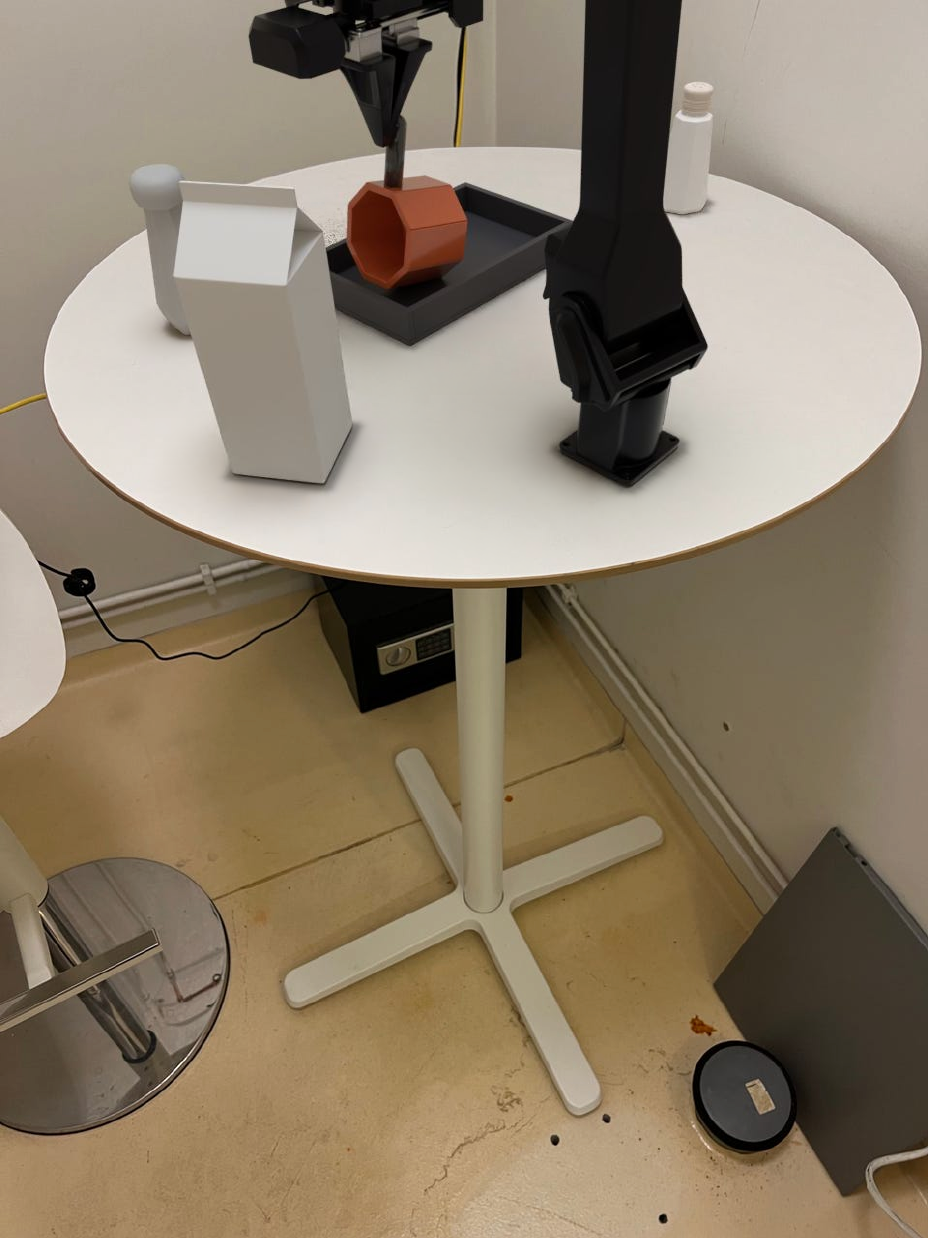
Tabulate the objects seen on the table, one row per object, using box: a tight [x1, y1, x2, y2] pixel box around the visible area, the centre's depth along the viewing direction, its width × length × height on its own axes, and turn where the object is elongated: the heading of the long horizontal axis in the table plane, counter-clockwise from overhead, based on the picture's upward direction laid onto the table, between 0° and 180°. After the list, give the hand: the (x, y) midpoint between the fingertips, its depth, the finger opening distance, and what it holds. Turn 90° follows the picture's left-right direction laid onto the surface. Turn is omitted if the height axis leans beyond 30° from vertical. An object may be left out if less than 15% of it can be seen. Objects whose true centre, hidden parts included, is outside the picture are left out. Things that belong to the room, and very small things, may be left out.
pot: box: [346, 113, 467, 290], centre depth 73 cm, size 13×8×7 cm
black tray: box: [325, 181, 574, 346], centre depth 79 cm, size 22×14×3 cm, turn 137°
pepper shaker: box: [663, 81, 714, 215], centre depth 85 cm, size 5×5×11 cm
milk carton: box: [173, 180, 353, 484], centre depth 56 cm, size 7×7×19 cm
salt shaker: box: [128, 163, 191, 336], centre depth 71 cm, size 6×6×13 cm
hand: (382, 145), depth 68 cm, fingers closed
